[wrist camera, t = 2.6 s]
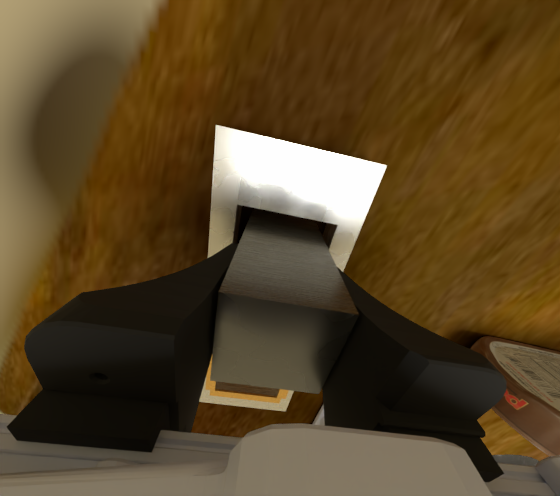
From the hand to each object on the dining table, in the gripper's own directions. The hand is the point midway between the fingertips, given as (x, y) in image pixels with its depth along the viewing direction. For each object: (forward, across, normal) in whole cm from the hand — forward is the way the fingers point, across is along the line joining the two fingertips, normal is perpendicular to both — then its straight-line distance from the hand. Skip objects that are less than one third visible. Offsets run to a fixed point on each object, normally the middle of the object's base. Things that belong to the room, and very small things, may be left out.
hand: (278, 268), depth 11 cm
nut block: (+3, 0, 0) cm, 3 cm away
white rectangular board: (+3, 0, +5) cm, 6 cm away
